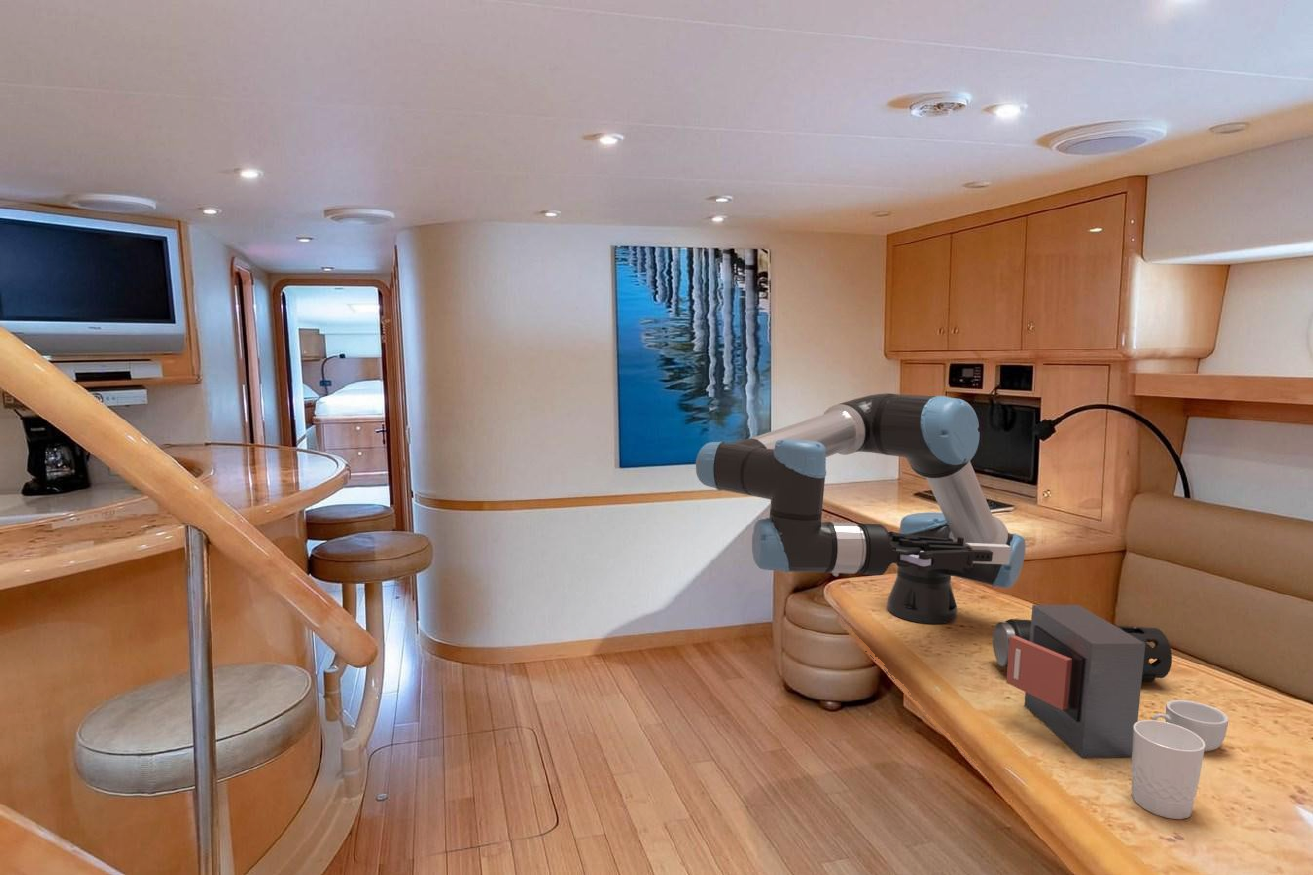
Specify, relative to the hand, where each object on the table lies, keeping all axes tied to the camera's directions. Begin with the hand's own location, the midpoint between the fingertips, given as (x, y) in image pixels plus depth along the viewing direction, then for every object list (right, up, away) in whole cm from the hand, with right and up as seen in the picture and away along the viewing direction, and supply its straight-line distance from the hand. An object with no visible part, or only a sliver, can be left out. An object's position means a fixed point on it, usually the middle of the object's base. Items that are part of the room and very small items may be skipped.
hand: (1007, 554), depth 111 cm
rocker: (+7, -23, +6) cm, 25 cm away
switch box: (+14, -29, +7) cm, 33 cm away
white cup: (+15, -32, -12) cm, 37 cm away
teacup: (+30, -30, +3) cm, 43 cm away
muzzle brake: (+25, -27, +26) cm, 46 cm away
